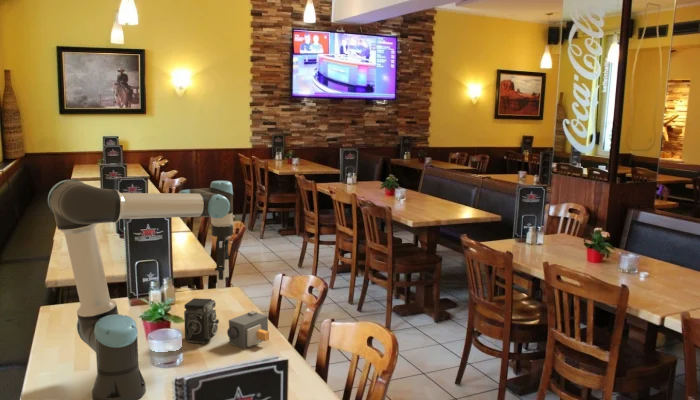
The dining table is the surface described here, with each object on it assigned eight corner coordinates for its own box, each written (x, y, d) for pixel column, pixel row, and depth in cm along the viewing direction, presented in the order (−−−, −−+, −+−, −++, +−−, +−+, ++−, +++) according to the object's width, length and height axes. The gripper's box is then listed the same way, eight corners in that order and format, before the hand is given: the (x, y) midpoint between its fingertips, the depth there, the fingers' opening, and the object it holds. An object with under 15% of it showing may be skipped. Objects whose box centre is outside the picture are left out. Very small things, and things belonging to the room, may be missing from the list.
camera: (210, 346, 216) (209, 307, 213) (183, 344, 218) (182, 305, 215) (221, 336, 226) (221, 298, 223) (196, 333, 228) (195, 296, 226)
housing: (241, 350, 213) (241, 324, 212) (226, 344, 218) (225, 319, 216) (268, 338, 224) (267, 313, 222) (252, 333, 229) (252, 309, 227)
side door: (256, 349, 212) (256, 332, 211) (247, 346, 215) (246, 329, 214) (269, 343, 217) (268, 327, 216) (259, 340, 220) (259, 324, 219)
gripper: (230, 231, 199) (230, 292, 202) (235, 217, 223) (236, 272, 226) (207, 231, 198) (208, 293, 201) (215, 217, 222) (216, 272, 225)
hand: (223, 282), depth 214 cm, fingers open, 13 cm apart
